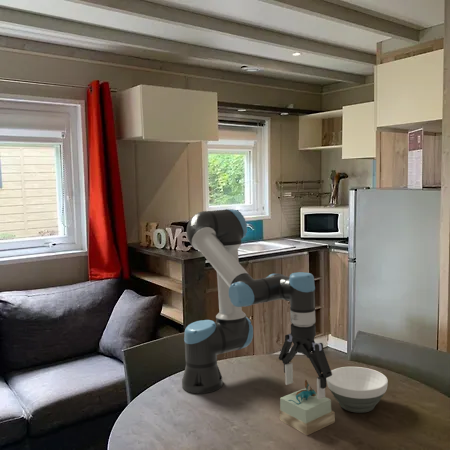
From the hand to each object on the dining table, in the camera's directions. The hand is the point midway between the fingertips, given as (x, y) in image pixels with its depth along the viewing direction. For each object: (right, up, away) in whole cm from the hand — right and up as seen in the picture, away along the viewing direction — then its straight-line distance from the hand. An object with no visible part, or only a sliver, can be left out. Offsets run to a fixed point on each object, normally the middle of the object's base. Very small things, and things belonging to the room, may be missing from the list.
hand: (304, 390), depth 150 cm
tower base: (+1, -10, +1) cm, 11 cm away
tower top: (0, -7, 0) cm, 7 cm away
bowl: (+19, -9, +9) cm, 23 cm away
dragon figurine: (-1, -3, -1) cm, 3 cm away
